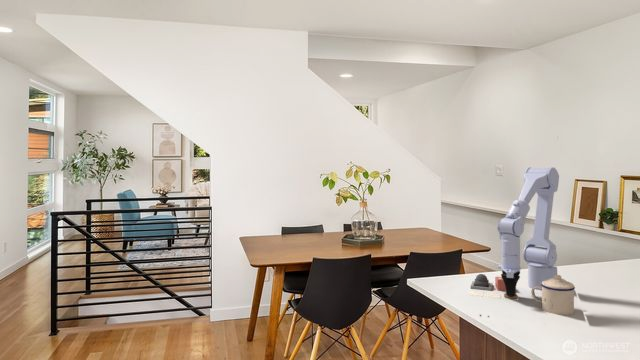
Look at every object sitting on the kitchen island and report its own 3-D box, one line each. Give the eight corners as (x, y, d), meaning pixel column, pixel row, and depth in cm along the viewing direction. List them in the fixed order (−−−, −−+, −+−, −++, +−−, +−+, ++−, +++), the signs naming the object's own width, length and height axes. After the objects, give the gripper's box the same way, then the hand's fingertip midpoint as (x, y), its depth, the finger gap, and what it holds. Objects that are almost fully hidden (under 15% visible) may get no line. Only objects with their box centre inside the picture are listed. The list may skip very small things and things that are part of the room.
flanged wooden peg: (517, 296, 146) (517, 279, 146) (517, 299, 142) (517, 283, 142) (504, 294, 148) (504, 278, 148) (503, 298, 144) (503, 281, 144)
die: (507, 287, 156) (507, 276, 156) (509, 291, 152) (509, 279, 152) (495, 287, 157) (495, 275, 156) (497, 290, 153) (497, 278, 153)
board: (521, 290, 155) (521, 285, 155) (520, 306, 139) (520, 300, 139) (468, 285, 163) (468, 280, 163) (462, 299, 147) (462, 294, 147)
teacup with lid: (577, 311, 133) (577, 274, 132) (570, 320, 126) (571, 281, 126) (535, 303, 141) (535, 268, 140) (527, 311, 134) (527, 274, 134)
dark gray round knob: (489, 285, 159) (489, 273, 158) (488, 289, 154) (488, 276, 154) (475, 284, 161) (475, 271, 160) (474, 287, 156) (473, 275, 156)
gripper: (498, 248, 153) (499, 286, 153) (496, 257, 139) (496, 298, 140) (520, 250, 149) (521, 288, 150) (520, 259, 136) (520, 301, 137)
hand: (510, 293), depth 145 cm, fingers closed on flanged wooden peg, 3 cm apart
